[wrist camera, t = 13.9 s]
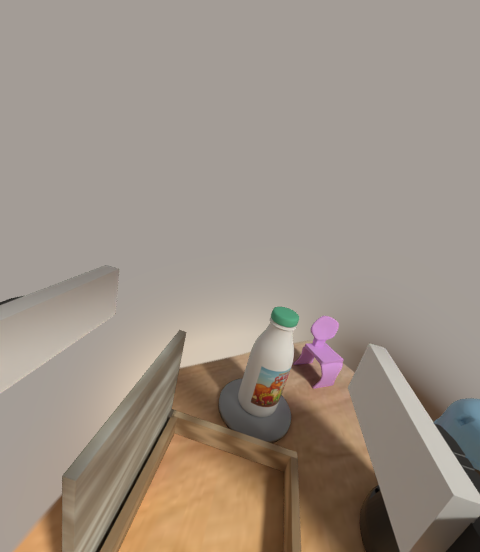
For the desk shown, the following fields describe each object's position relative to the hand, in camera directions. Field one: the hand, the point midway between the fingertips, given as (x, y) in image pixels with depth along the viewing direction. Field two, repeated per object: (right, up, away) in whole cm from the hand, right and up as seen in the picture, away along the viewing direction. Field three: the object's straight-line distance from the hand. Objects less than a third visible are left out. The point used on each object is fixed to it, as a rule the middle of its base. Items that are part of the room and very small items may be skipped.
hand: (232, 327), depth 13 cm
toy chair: (+18, -22, +50) cm, 58 cm away
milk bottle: (+4, -22, +37) cm, 43 cm away
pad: (+3, -23, +36) cm, 43 cm away
